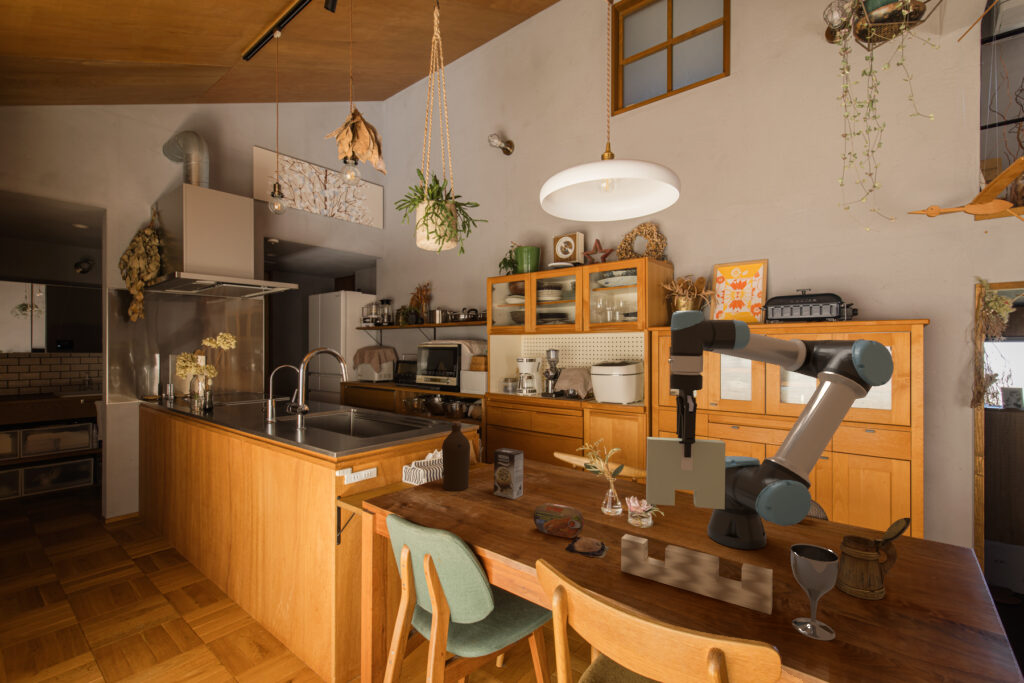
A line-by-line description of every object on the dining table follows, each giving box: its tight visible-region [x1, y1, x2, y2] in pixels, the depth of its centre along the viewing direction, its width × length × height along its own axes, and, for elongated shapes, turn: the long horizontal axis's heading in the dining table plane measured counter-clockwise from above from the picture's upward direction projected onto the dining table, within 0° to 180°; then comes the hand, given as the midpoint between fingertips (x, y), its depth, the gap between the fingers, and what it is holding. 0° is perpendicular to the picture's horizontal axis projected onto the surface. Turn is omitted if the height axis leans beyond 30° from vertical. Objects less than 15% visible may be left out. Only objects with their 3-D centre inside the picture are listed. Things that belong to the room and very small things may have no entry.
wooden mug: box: [834, 517, 912, 601], centre depth 105 cm, size 9×14×18 cm, turn 61°
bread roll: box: [565, 536, 610, 560], centre depth 125 cm, size 11×8×4 cm
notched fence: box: [620, 533, 774, 615], centre depth 106 cm, size 32×3×8 cm, turn 56°
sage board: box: [645, 436, 726, 510], centre depth 116 cm, size 18×3×16 cm, turn 80°
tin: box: [533, 502, 585, 539], centre depth 135 cm, size 15×3×8 cm, turn 62°
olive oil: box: [441, 420, 471, 492], centre depth 177 cm, size 11×11×25 cm
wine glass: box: [789, 542, 840, 641], centre depth 91 cm, size 8×8×15 cm
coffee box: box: [493, 447, 524, 500], centre depth 169 cm, size 9×6×16 cm
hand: (684, 467), depth 116 cm, fingers closed on sage board, 3 cm apart
